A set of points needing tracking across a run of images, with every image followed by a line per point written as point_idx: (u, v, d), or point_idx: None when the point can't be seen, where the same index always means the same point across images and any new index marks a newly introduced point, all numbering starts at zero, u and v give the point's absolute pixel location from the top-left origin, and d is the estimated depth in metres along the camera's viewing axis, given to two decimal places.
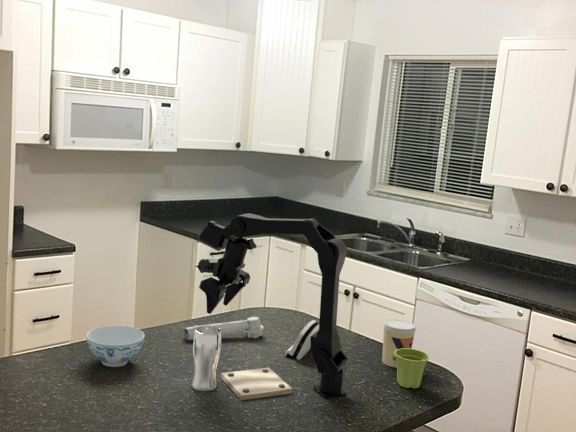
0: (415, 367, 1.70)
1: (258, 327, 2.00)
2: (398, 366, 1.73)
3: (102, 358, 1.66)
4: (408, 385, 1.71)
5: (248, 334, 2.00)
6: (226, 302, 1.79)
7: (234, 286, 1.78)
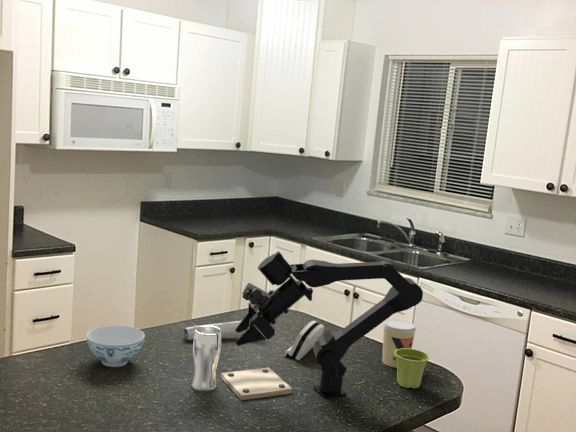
0: (415, 367, 1.70)
1: None
2: (398, 366, 1.73)
3: (102, 358, 1.66)
4: (408, 385, 1.71)
5: None
6: (239, 330, 1.65)
7: None
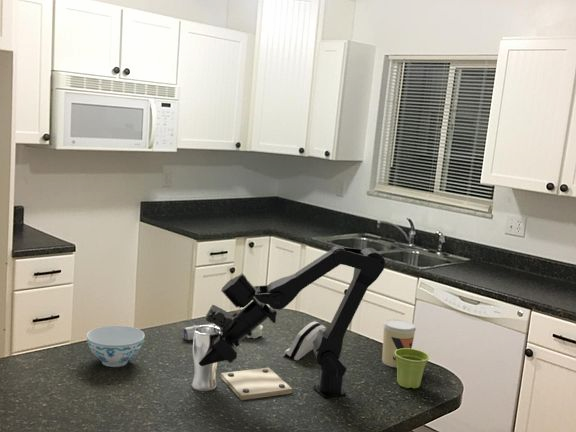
0: (415, 367, 1.70)
1: (257, 327, 2.00)
2: (398, 366, 1.73)
3: (102, 358, 1.66)
4: (408, 385, 1.71)
5: None
6: None
7: None
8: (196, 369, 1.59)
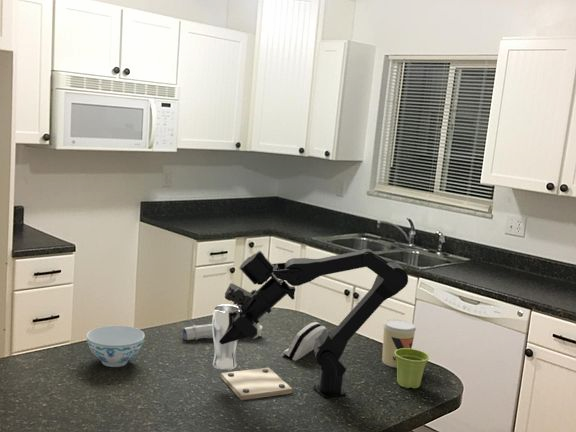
0: (415, 367, 1.70)
1: (257, 327, 2.00)
2: (398, 366, 1.73)
3: (102, 358, 1.66)
4: (408, 385, 1.71)
5: None
6: None
7: None
8: (216, 348, 1.59)
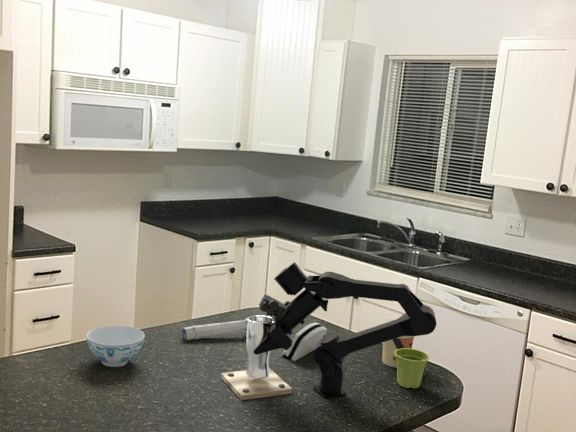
0: (415, 367, 1.70)
1: None
2: (398, 366, 1.73)
3: (102, 358, 1.66)
4: (408, 385, 1.71)
5: None
6: None
7: None
8: (250, 358, 1.62)
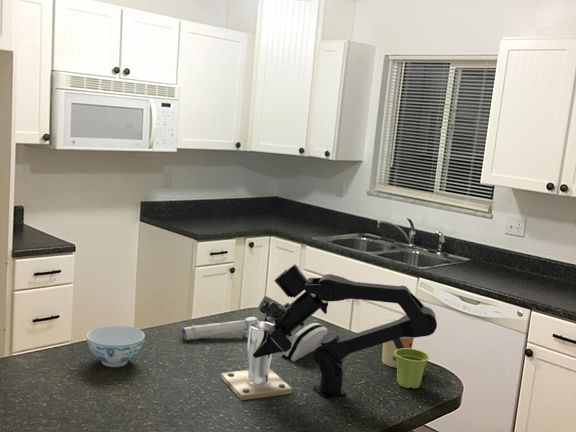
0: (415, 367, 1.70)
1: None
2: (398, 366, 1.73)
3: (102, 358, 1.66)
4: (408, 385, 1.71)
5: (246, 334, 1.99)
6: None
7: None
8: (251, 364, 1.62)
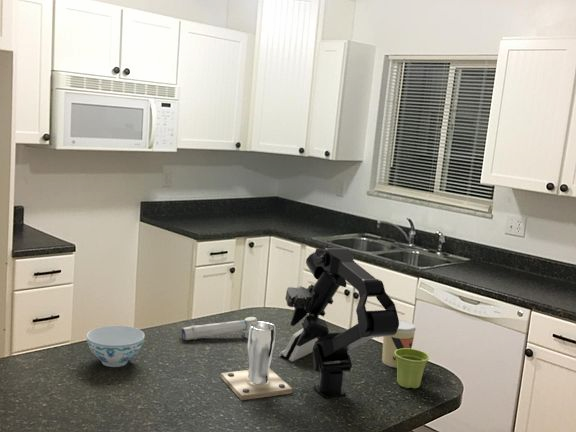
0: (415, 367, 1.70)
1: None
2: (398, 366, 1.73)
3: (102, 358, 1.66)
4: (408, 385, 1.71)
5: (245, 334, 1.99)
6: (294, 323, 1.76)
7: None
8: (251, 364, 1.62)
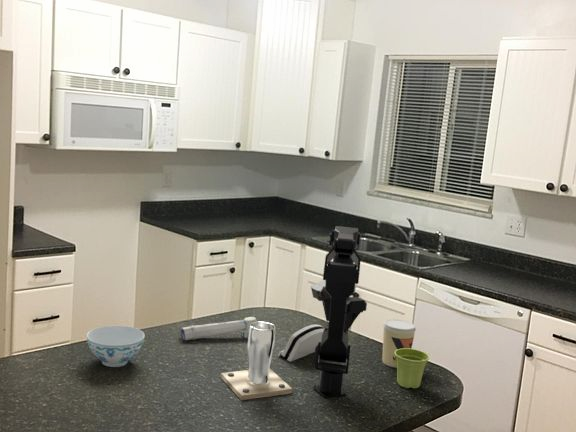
0: (415, 367, 1.70)
1: None
2: (398, 366, 1.73)
3: (102, 358, 1.66)
4: (408, 385, 1.71)
5: (245, 334, 1.99)
6: None
7: None
8: (251, 364, 1.62)
